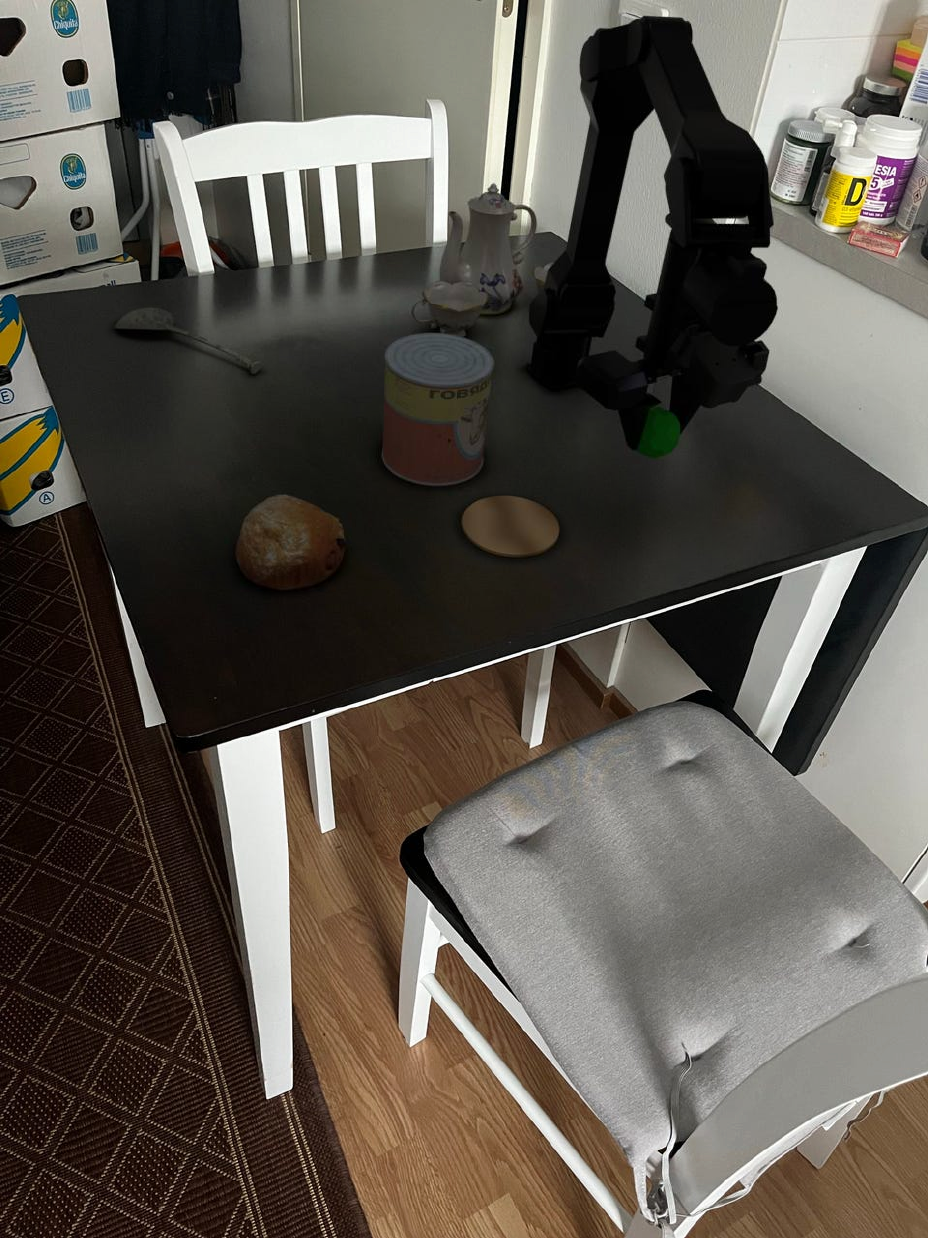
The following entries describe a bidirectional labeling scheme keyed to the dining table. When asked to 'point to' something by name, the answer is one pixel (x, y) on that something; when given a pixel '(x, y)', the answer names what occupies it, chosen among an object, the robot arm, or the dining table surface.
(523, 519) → the coaster
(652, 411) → the polyhedron
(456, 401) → the canned food
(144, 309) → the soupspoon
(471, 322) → the chinaware
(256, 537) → the bread roll
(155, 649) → the dining table surface
